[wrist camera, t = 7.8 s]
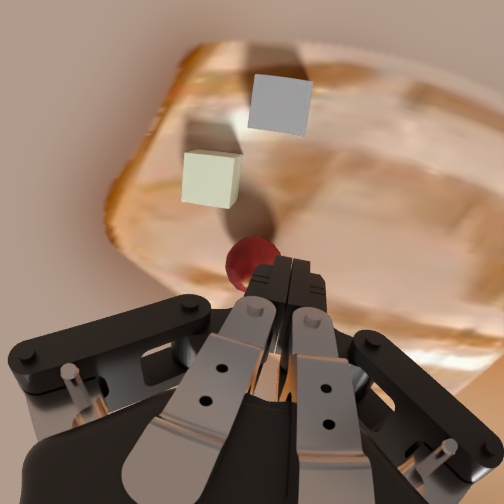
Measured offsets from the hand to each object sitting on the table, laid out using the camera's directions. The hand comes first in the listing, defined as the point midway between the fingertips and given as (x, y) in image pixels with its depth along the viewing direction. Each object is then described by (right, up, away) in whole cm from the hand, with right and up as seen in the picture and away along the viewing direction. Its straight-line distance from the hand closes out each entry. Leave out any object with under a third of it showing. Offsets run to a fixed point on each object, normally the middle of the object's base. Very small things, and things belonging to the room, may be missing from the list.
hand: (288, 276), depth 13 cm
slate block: (+2, +16, +14) cm, 21 cm away
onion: (-1, +1, +21) cm, 21 cm away
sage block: (-5, +9, +19) cm, 21 cm away
